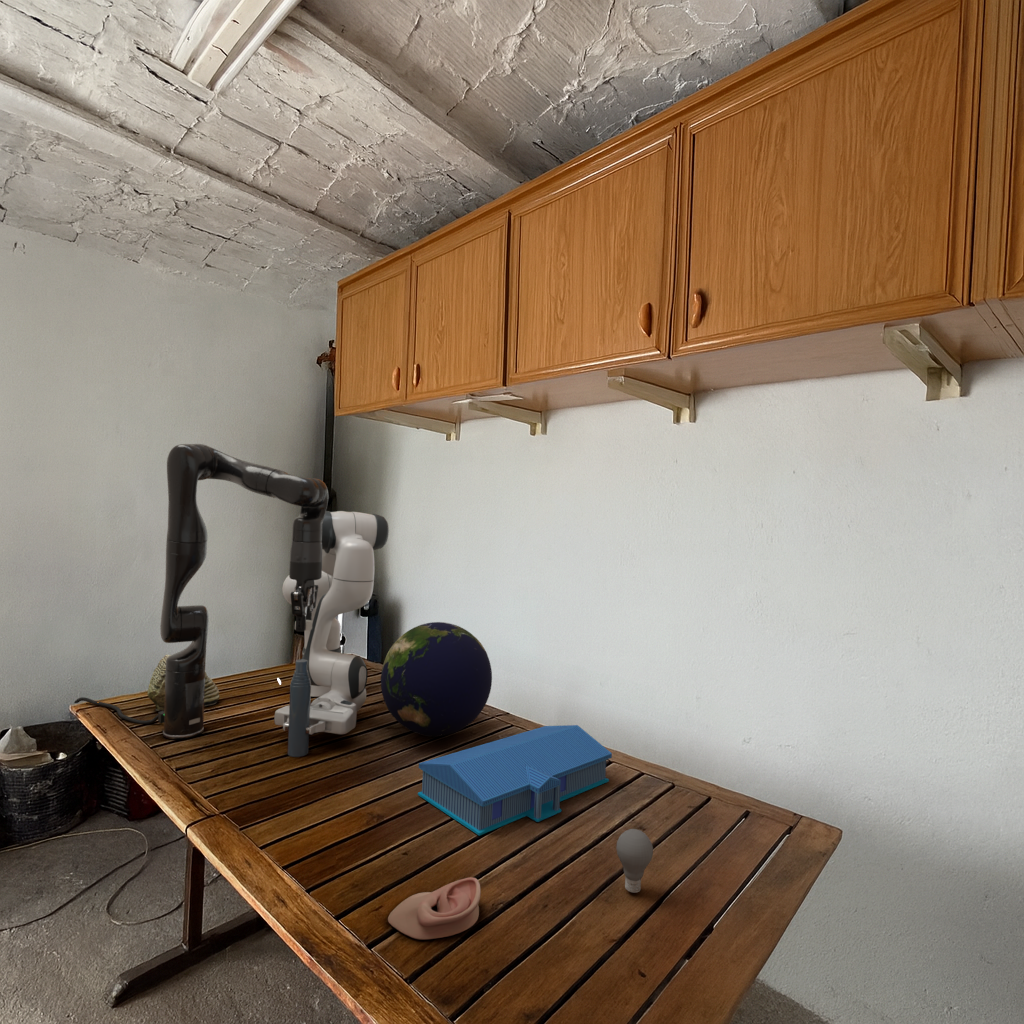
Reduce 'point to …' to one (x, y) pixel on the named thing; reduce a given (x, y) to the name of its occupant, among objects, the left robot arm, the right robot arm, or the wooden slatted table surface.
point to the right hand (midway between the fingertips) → (297, 729)
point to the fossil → (158, 687)
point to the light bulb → (634, 857)
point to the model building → (514, 777)
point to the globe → (436, 679)
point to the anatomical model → (439, 911)
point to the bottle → (299, 710)
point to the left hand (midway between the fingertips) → (303, 629)
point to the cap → (307, 625)
